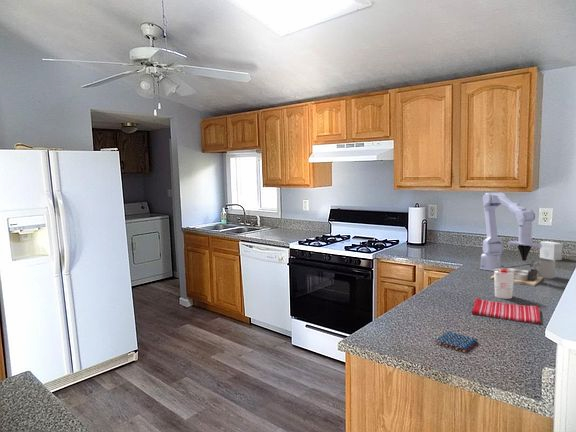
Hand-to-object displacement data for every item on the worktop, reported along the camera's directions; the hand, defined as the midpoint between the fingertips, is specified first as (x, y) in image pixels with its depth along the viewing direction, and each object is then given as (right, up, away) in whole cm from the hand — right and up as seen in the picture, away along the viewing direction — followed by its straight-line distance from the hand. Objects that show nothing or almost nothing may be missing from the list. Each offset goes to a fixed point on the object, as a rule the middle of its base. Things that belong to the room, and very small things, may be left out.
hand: (524, 260), depth 200 cm
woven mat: (-65, -21, -69) cm, 97 cm away
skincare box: (+45, -5, +47) cm, 65 cm away
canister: (-23, -14, -23) cm, 36 cm away
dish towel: (-33, -17, -43) cm, 57 cm away
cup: (+14, -10, +7) cm, 18 cm away
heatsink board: (-2, -10, +3) cm, 11 cm away
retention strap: (-2, -5, +3) cm, 6 cm away
